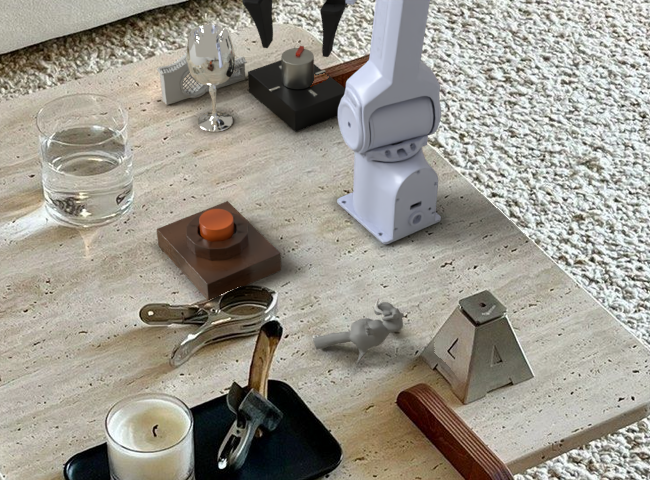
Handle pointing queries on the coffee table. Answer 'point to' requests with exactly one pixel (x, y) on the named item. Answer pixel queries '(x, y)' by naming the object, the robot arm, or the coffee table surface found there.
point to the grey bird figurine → (366, 330)
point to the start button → (216, 225)
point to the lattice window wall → (178, 71)
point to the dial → (297, 68)
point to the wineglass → (211, 68)
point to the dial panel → (295, 97)
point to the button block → (219, 254)
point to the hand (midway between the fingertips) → (297, 48)
